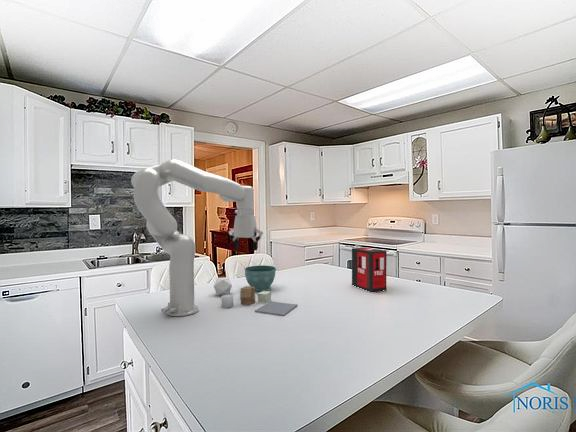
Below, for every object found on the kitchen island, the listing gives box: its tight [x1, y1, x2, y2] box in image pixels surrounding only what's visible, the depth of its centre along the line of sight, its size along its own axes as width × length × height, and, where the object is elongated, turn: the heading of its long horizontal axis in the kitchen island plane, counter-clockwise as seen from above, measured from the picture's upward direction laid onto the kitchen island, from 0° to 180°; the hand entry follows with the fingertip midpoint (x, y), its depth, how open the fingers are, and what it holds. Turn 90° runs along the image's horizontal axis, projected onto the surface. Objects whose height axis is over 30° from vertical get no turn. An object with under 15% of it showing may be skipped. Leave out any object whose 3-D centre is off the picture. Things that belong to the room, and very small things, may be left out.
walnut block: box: [240, 285, 256, 307], centre depth 143 cm, size 4×4×7 cm
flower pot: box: [244, 264, 277, 292], centre depth 168 cm, size 16×16×11 cm
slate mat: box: [254, 300, 298, 317], centre depth 135 cm, size 14×13×1 cm
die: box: [213, 276, 232, 297], centre depth 158 cm, size 8×9×10 cm
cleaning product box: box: [351, 246, 387, 293], centre depth 168 cm, size 16×9×20 cm, turn 25°
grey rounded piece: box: [221, 294, 234, 309], centre depth 139 cm, size 5×5×4 cm
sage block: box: [257, 290, 272, 304], centre depth 147 cm, size 5×4×4 cm
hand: (245, 249), depth 150 cm, fingers open, 9 cm apart
